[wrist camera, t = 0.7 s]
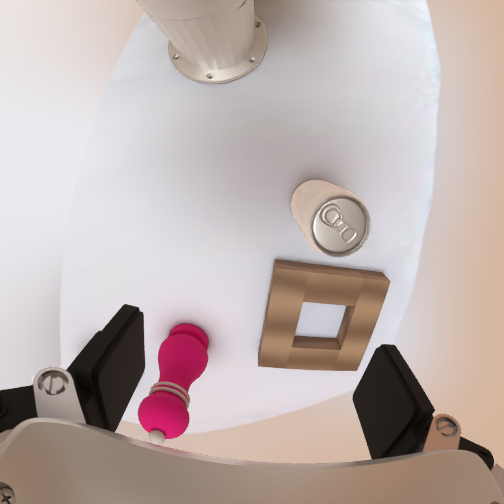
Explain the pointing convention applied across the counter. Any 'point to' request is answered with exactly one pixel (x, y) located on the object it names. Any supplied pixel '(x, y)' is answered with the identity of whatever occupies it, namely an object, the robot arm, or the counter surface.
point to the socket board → (328, 292)
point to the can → (330, 217)
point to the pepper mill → (174, 383)
